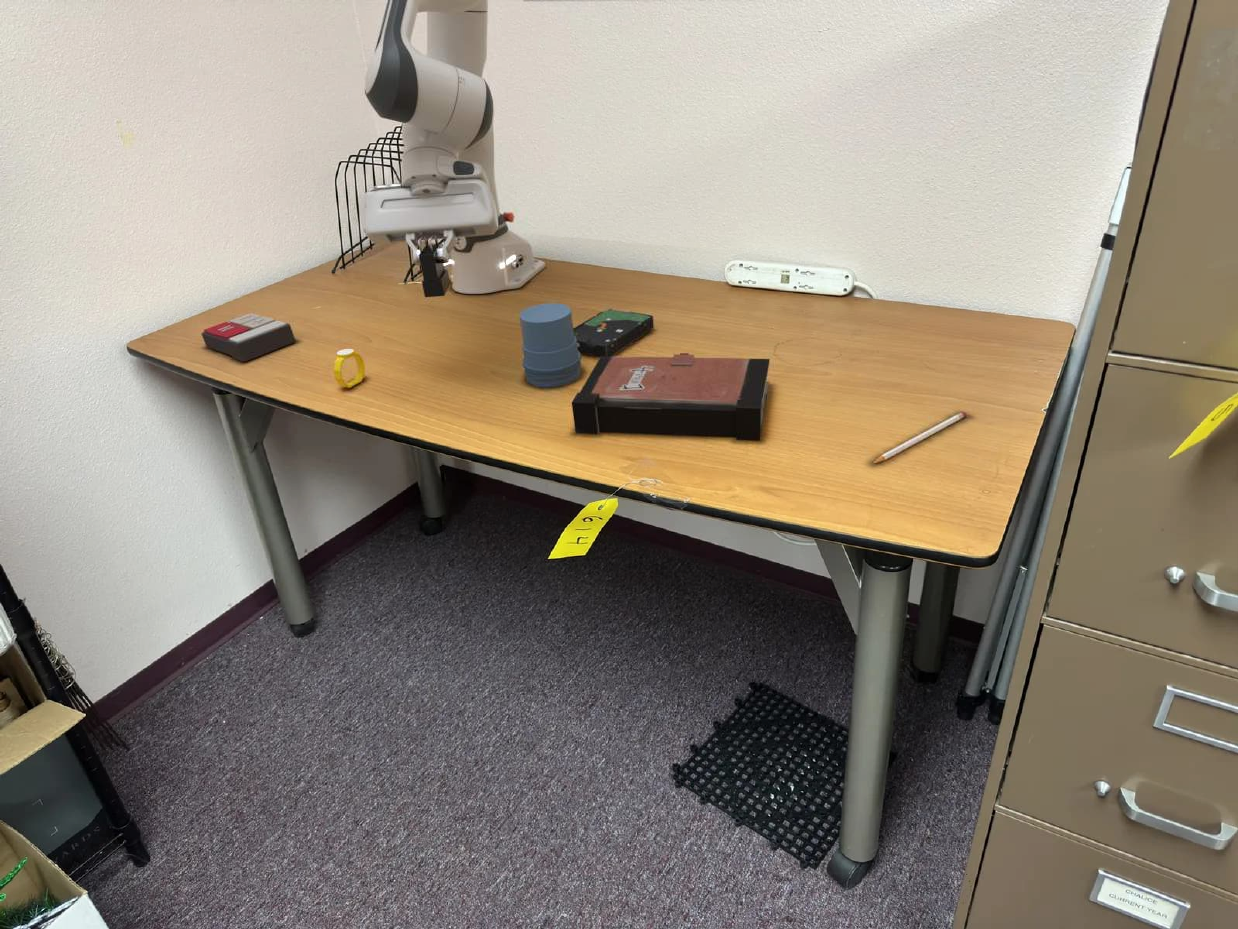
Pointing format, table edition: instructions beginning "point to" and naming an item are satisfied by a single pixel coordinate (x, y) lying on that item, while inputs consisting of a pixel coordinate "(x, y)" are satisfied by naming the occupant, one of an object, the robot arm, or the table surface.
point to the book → (674, 397)
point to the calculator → (248, 336)
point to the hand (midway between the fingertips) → (431, 262)
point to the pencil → (920, 437)
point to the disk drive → (611, 332)
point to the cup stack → (549, 345)
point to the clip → (432, 269)
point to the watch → (338, 365)
